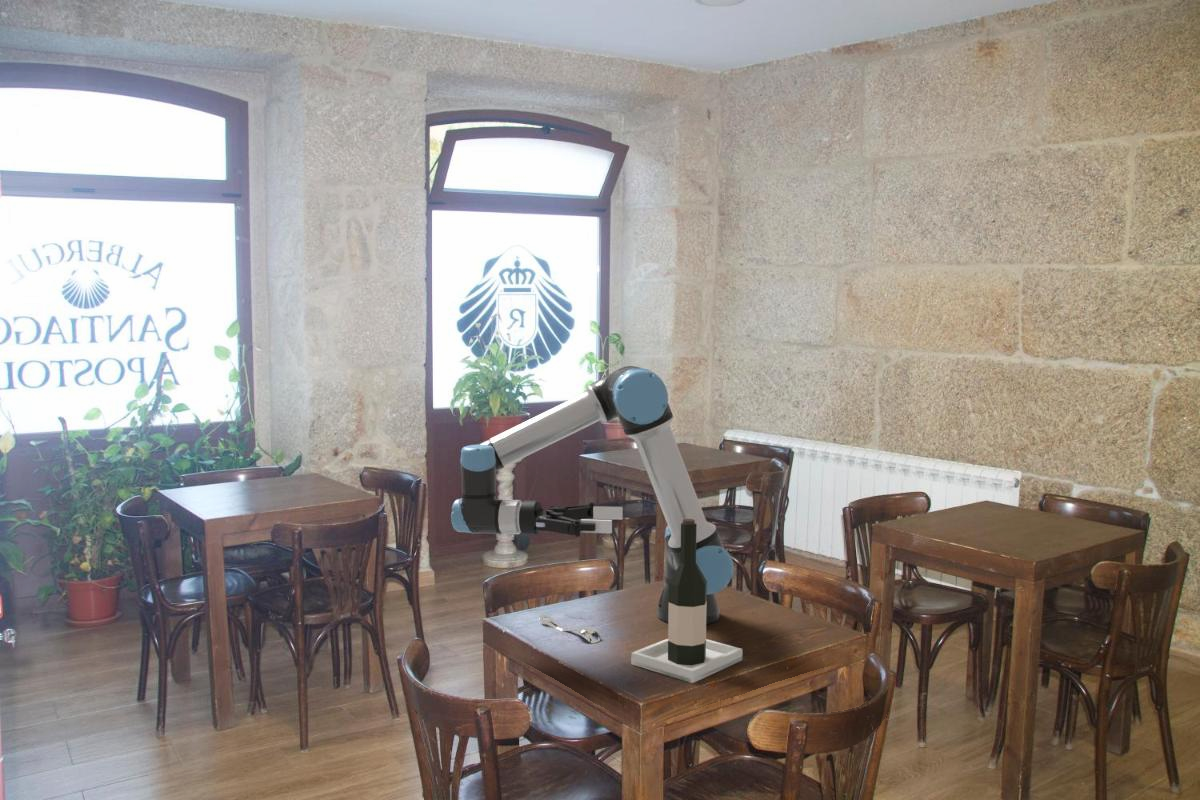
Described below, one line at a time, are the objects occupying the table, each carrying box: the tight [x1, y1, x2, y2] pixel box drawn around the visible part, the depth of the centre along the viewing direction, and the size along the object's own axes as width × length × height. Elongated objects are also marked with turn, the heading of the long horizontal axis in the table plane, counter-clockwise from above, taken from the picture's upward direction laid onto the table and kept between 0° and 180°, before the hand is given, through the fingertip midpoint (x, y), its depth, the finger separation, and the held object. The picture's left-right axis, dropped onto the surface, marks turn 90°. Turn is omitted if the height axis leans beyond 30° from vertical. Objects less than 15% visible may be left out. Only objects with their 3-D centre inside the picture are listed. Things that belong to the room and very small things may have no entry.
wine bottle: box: [667, 519, 707, 665], centre depth 215 cm, size 8×8×30 cm
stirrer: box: [538, 614, 601, 644], centre depth 236 cm, size 20×4×5 cm
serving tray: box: [630, 638, 743, 684], centre depth 216 cm, size 18×16×2 cm
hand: (617, 519), depth 219 cm, fingers open, 13 cm apart
